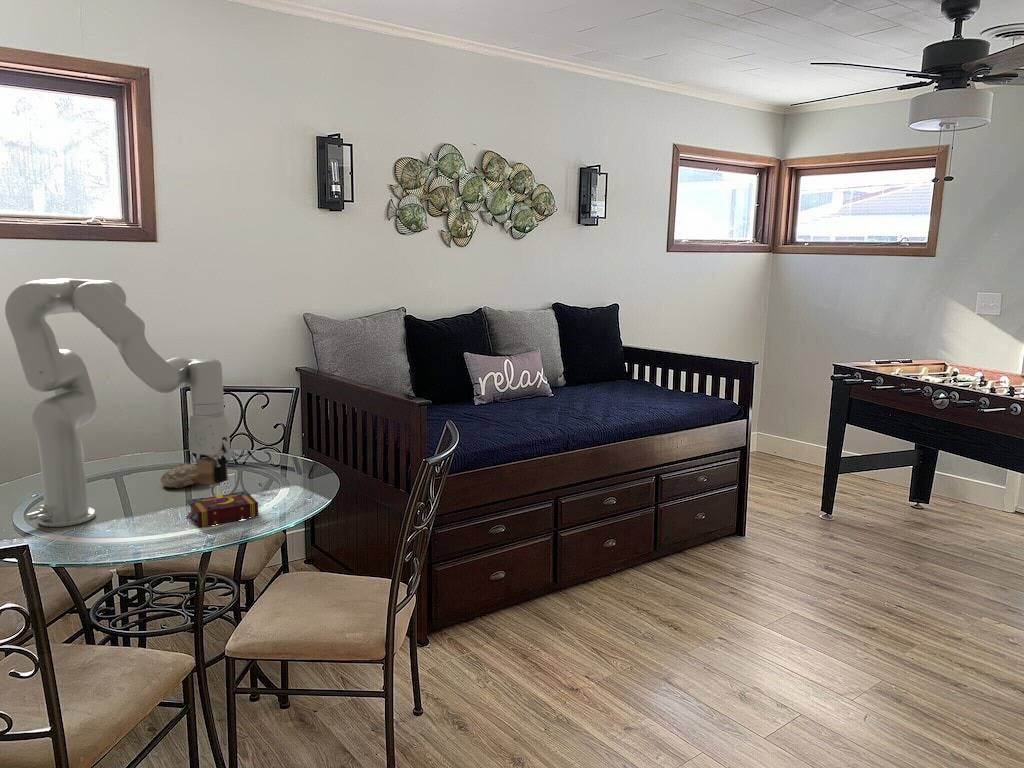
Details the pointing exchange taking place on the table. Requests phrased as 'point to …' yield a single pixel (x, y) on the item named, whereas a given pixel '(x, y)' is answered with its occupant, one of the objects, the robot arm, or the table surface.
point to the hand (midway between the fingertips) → (212, 478)
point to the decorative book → (222, 508)
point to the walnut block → (207, 470)
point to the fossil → (180, 476)
